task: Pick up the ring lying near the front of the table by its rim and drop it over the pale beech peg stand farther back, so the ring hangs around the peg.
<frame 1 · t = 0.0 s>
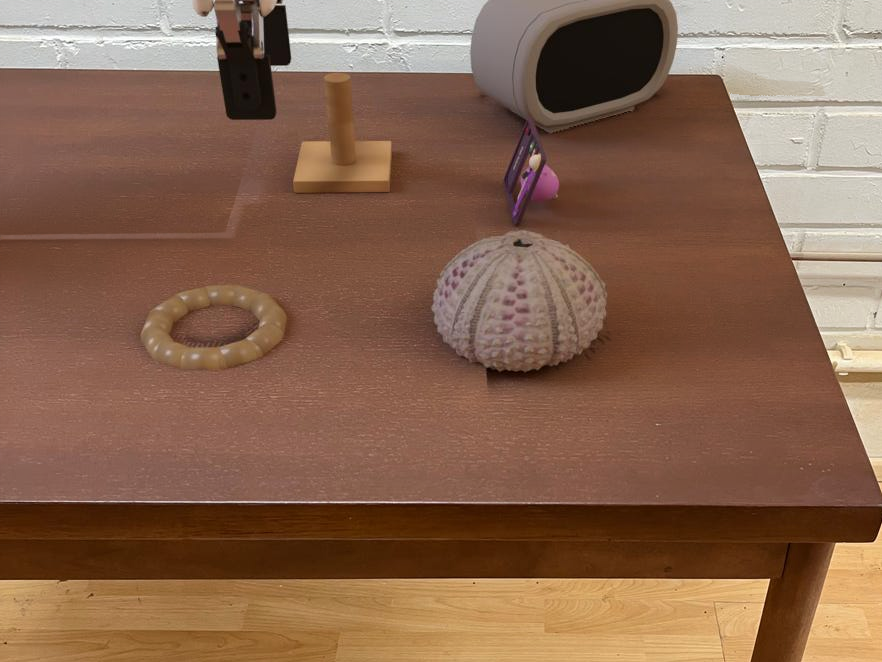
hand: (261, 89, 70), 17 cm above the table, tool pointing down, fingers open, 9 cm apart
ring: (215, 328, 76), point 1 cm above the table
sea urchin shell: (517, 337, 78), on the table
purple toy package: (533, 205, 94), on the table
alarm clock: (571, 112, 111), on the table
stand: (344, 171, 99), on the table
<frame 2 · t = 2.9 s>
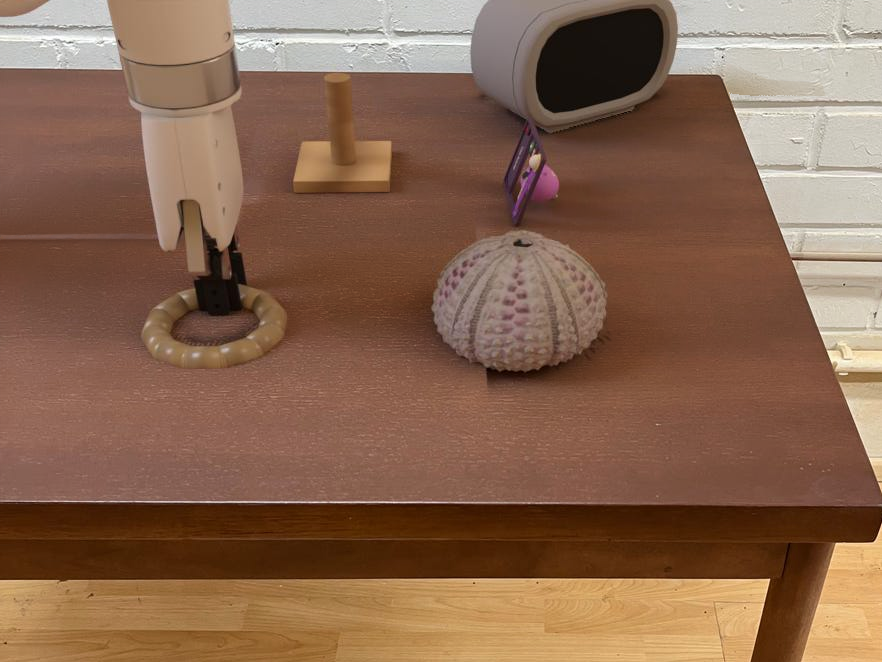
hand: (225, 307, 80), 0 cm above the table, tool pointing down, fingers closed on ring, 2 cm apart
ring: (215, 327, 76), point 1 cm above the table, touching gripper
everything else where it was.
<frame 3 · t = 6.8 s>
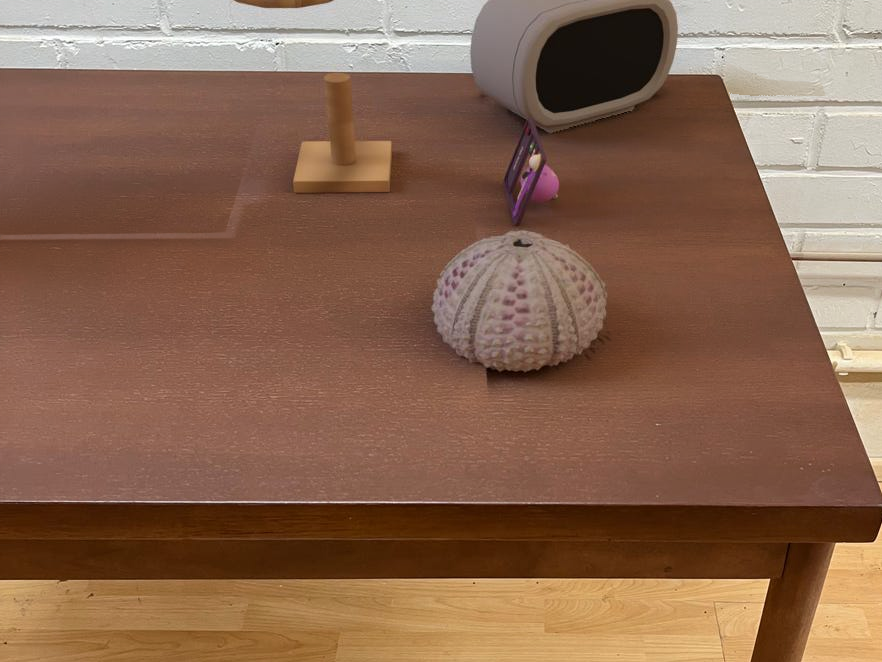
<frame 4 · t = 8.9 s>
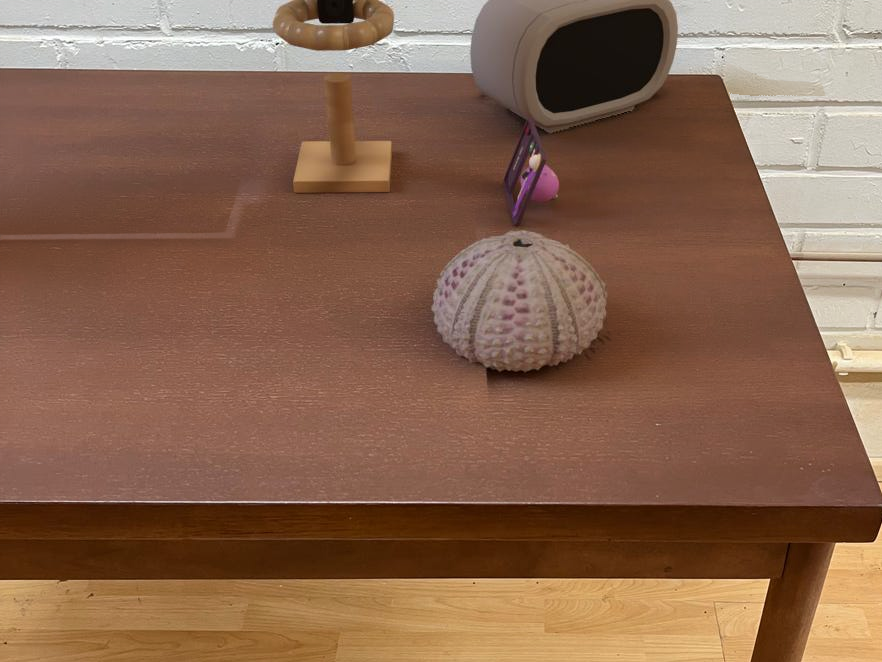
hand: (337, 15, 93), 13 cm above the table, tool pointing down, fingers closed on ring
ring: (334, 20, 89), point 14 cm above the table, touching gripper
everything else where it was.
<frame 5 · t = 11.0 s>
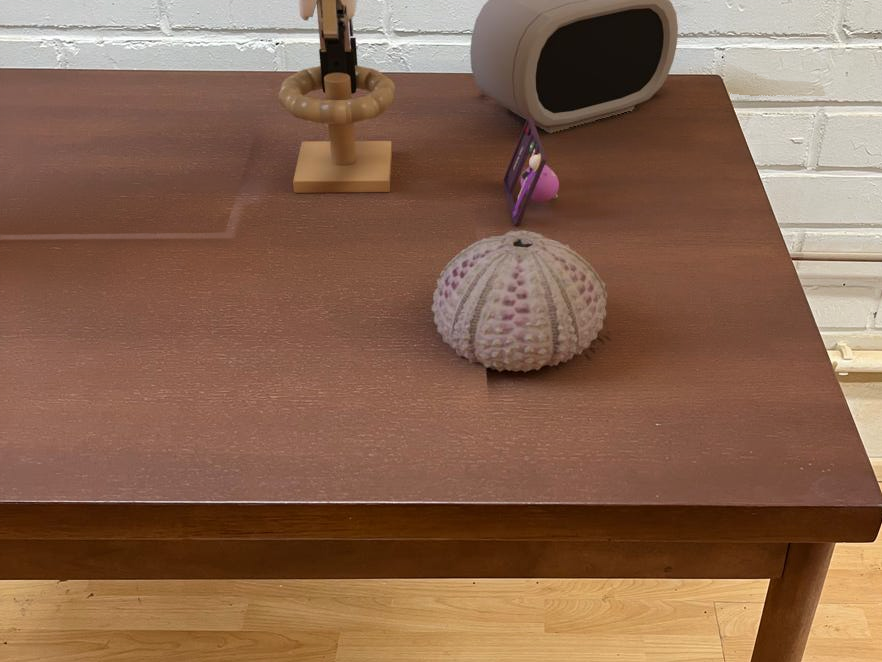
hand: (340, 85, 97), 7 cm above the table, tool pointing down, fingers closed on ring
ring: (337, 93, 94), point 8 cm above the table, touching gripper
everything else where it was.
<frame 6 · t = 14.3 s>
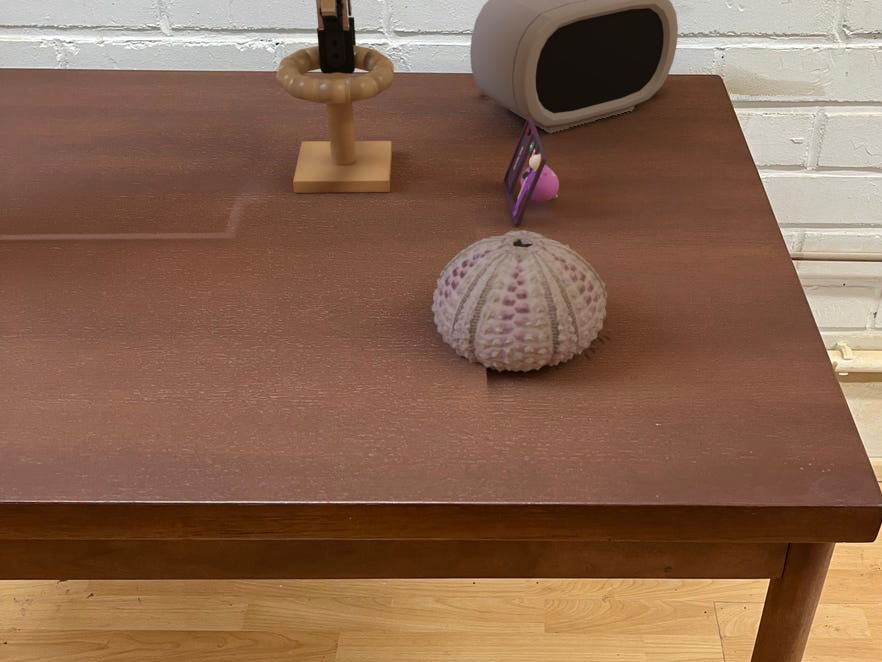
hand: (339, 65, 96), 9 cm above the table, tool pointing down, fingers closed on ring
ring: (335, 73, 92), point 10 cm above the table, touching gripper
everything else where it was.
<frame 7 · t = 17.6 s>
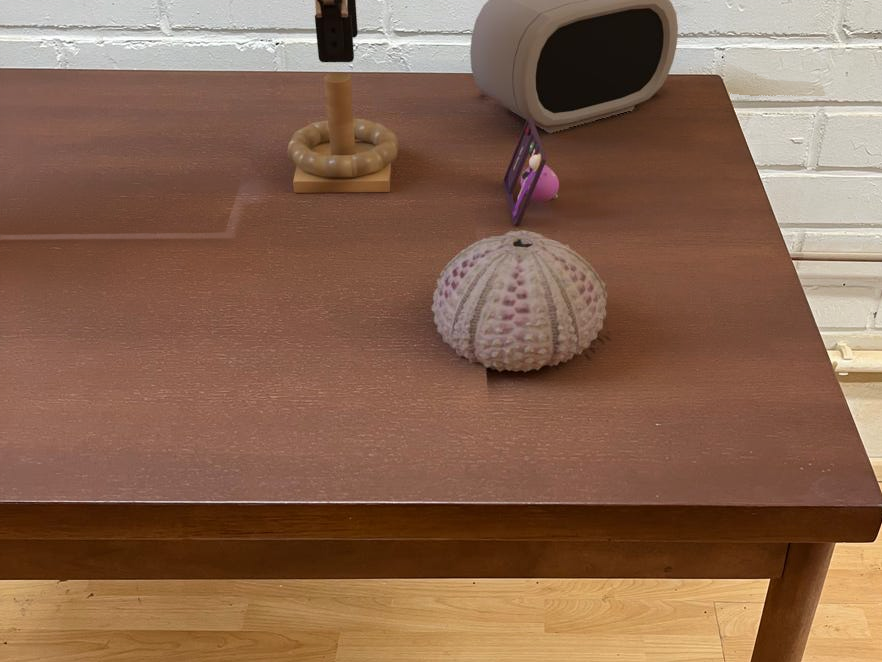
hand: (338, 46, 95), 10 cm above the table, tool pointing down, fingers open, 5 cm apart
ring: (343, 147, 98), point 2 cm above the table, touching stand
everything else where it was.
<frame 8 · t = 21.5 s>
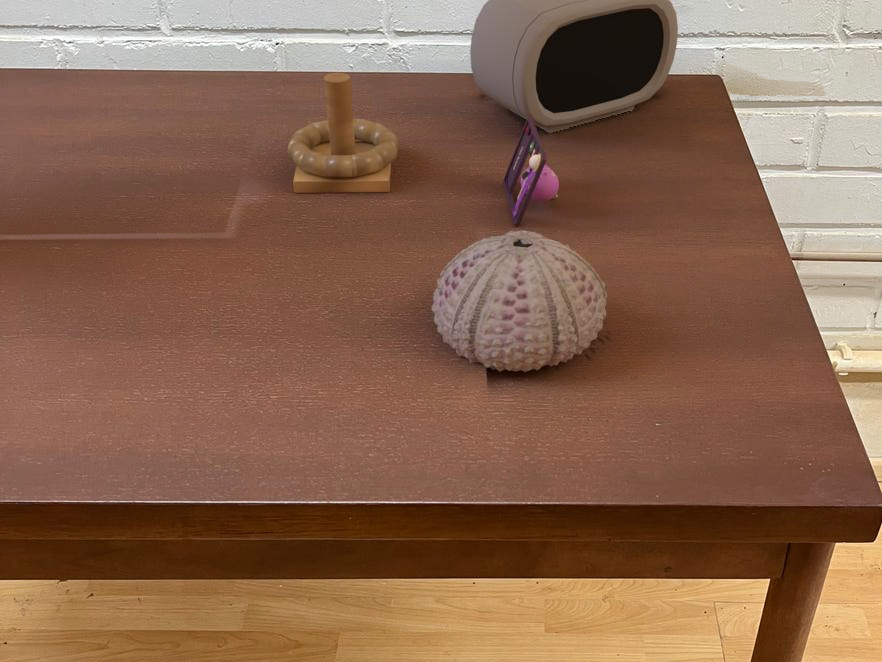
nothing on the table moved.
at the end: ring 0.7 cm from the stand (horizontally); ring point 2.2 cm above the table; the gripper is holding nothing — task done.
